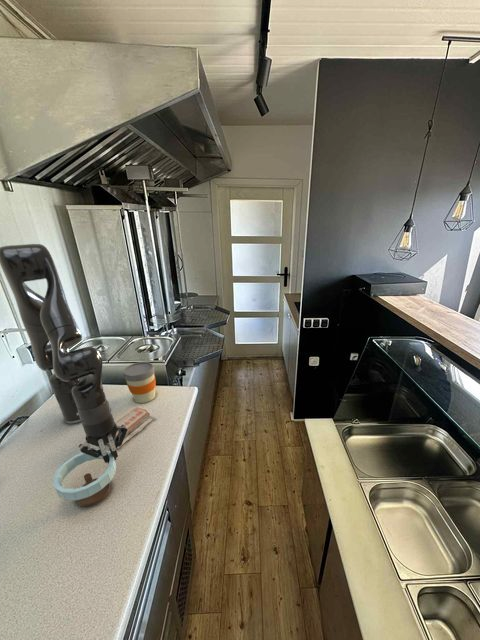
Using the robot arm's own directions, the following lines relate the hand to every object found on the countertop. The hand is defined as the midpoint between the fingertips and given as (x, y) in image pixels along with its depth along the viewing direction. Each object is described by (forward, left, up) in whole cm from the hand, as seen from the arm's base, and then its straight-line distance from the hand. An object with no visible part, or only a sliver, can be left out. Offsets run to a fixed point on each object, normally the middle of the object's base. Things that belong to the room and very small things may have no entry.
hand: (111, 460), depth 87 cm
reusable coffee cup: (-38, +25, -9) cm, 46 cm away
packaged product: (-21, +11, -9) cm, 25 cm away
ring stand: (0, -7, -8) cm, 11 cm away
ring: (0, -7, -1) cm, 7 cm away
